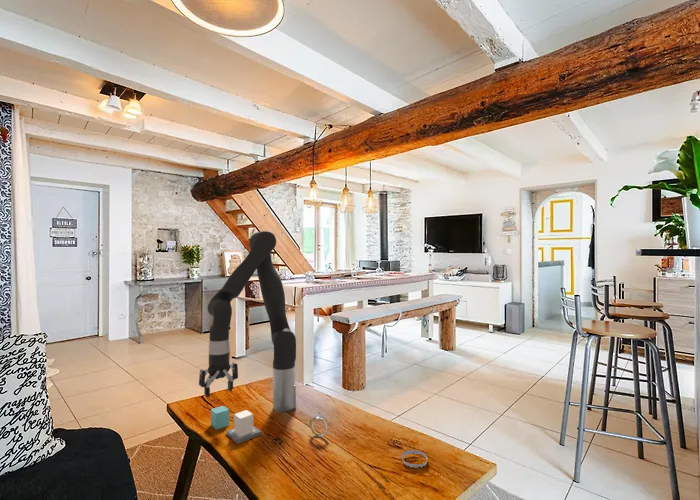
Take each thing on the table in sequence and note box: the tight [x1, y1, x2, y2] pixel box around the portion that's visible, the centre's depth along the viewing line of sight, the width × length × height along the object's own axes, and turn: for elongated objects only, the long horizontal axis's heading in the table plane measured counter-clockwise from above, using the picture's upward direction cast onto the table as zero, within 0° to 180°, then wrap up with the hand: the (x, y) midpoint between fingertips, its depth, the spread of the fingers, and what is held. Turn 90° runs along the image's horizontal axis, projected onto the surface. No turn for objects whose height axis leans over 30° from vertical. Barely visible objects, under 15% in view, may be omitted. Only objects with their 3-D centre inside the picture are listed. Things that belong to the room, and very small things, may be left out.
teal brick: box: [210, 405, 230, 430], centre depth 137 cm, size 5×5×6 cm
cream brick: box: [233, 409, 254, 436], centre depth 130 cm, size 5×5×6 cm
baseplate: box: [225, 425, 262, 445], centre depth 130 cm, size 9×9×1 cm
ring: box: [309, 412, 329, 438], centre depth 128 cm, size 7×3×8 cm, turn 61°
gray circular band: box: [401, 449, 428, 469], centre depth 112 cm, size 8×8×2 cm
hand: (218, 393), depth 138 cm, fingers open, 8 cm apart
